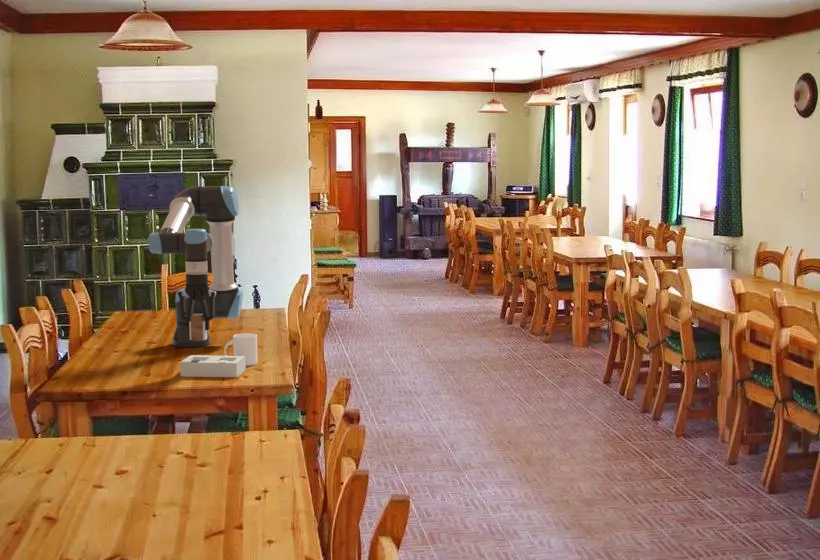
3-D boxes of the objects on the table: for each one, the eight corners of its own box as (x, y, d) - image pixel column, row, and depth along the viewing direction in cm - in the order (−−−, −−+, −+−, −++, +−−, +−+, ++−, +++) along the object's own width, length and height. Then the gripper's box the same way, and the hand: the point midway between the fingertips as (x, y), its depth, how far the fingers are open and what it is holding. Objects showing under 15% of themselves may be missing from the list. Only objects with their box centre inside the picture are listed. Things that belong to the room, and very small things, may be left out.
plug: (194, 338, 339) (194, 313, 337) (206, 338, 338) (205, 313, 337) (191, 340, 335) (190, 315, 333) (202, 341, 334) (201, 315, 333)
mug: (223, 362, 354) (222, 334, 353) (256, 361, 357) (255, 332, 356) (225, 367, 346) (224, 338, 345) (258, 365, 349) (258, 336, 348)
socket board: (191, 368, 344) (190, 354, 344) (245, 369, 343) (245, 355, 342) (180, 376, 332) (179, 361, 332) (236, 377, 331) (236, 362, 330)
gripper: (169, 274, 330) (171, 340, 333) (217, 274, 329) (219, 341, 332) (176, 271, 338) (178, 336, 341) (223, 272, 336) (225, 337, 339)
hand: (198, 339), depth 336 cm, fingers closed on plug, 4 cm apart
